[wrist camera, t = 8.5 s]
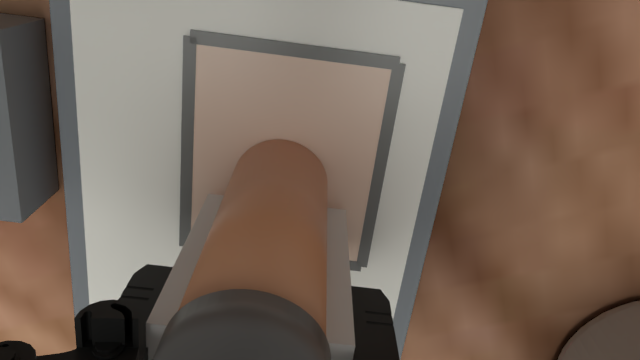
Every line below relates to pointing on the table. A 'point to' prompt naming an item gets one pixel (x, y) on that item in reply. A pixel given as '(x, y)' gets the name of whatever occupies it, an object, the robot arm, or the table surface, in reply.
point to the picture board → (256, 122)
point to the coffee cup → (607, 336)
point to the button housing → (25, 119)
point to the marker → (260, 266)
